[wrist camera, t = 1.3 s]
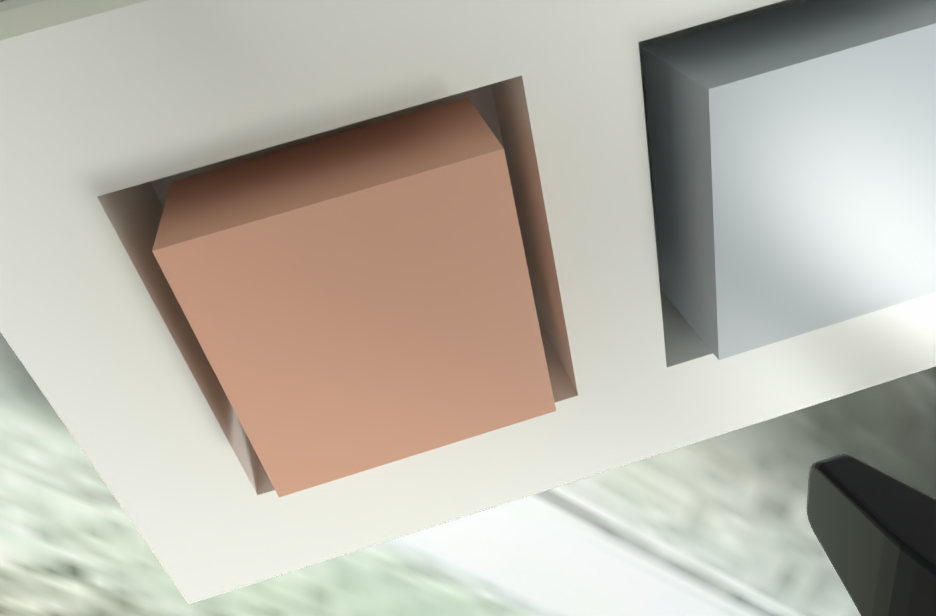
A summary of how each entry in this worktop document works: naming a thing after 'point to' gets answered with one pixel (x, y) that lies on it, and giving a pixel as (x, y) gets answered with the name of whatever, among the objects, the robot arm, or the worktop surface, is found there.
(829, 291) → the slate key
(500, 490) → the keypad
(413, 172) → the terracotta key
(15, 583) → the worktop surface
